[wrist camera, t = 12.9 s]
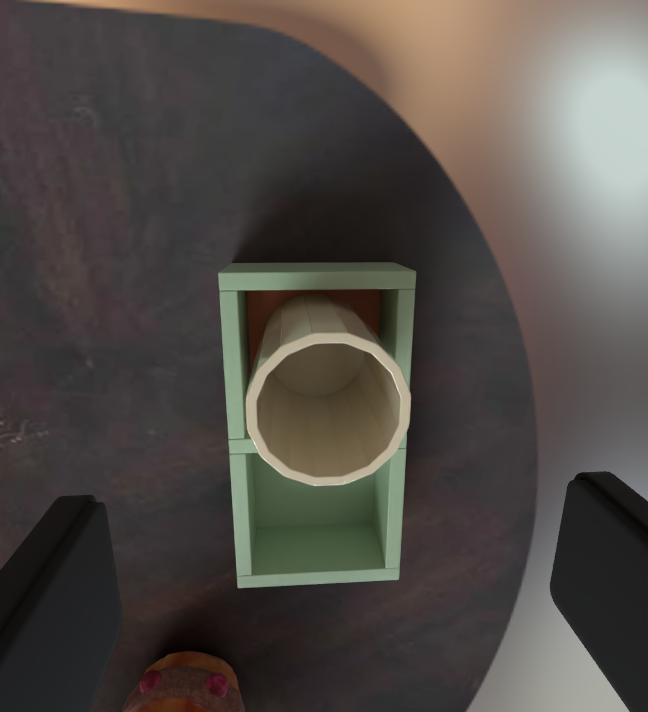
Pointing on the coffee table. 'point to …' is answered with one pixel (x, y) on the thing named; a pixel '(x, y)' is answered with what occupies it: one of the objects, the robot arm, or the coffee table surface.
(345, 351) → the paper cup
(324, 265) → the cup holder
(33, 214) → the coffee table surface
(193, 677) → the mug
